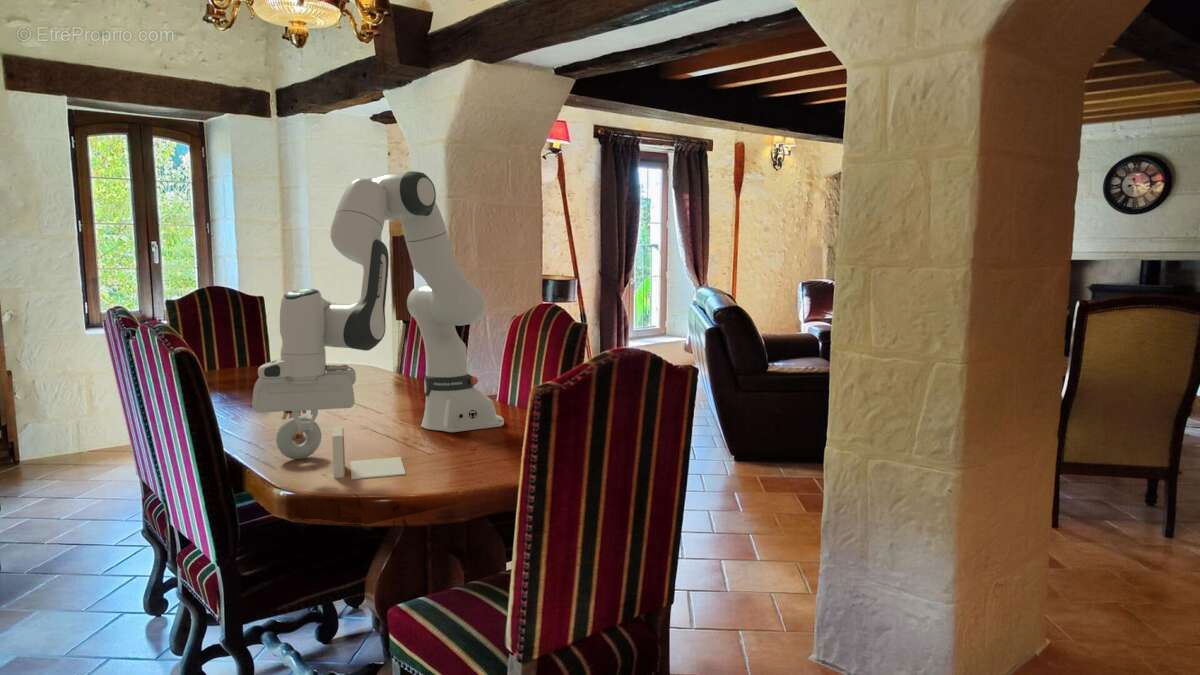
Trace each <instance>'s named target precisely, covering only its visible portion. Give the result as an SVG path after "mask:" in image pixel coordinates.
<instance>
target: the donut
mask: <svg viewBox="0 0 1200 675" xmlns="http://www.w3.org/2000/svg"><path fill="white" fill-rule="evenodd" d="M298 417H299V418H300V420H301V421H302V422H308V421H310V420H311V417H307V416H302V415H301V416H298ZM297 431H298V424H297V422H296V421H295V420H294V418H290V419H289V418H288V419H286V421H284V422H283V423H282V425H280V427H279V428H278V431H277V433H276V439H275V441H276V442H275V443H276V446H277V448H278V450H279V452H280V453H281V454H282V455H283V456H284V457H286V458H289V459H290V460H291V459H292V460H303V459H306V458H309V457H310V456H311V455H314V453H315V452H316V451H317V450H318V448H319V447H320V444H321V441H322V432H321V427H320V426H319V424H318V423H317V422H316V421H315V420H314V422H313V431H303V433H304V434H305V436H306V437H305V440H304V441H303V442H302V443H301V444H300V443H299V444H296V443H294V442H293V439H292V436H293V434H294V433H295V432H297Z"/></svg>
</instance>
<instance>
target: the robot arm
mask: <svg viewBox="0 0 1200 675" xmlns="http://www.w3.org/2000/svg"><path fill="white" fill-rule="evenodd" d="M436 193H437V192H436V188H435V184H434V183H433V181H432V180H431V178H430V177H429V176H428V175H427V174H426V173H424V172H421V171H415V170H414V171H407V172H394V173H387V174H385V175H380V176H378V177H375V178H356V179H355V180H352V181H351V182H350V183H349V185H348V186H347V187H346V189H345V191H344V193H343V195H342V196H341V198H340V201H339V204H338V206H337V208H336V211H335V213H334V217H333V220H332V222H331V223H332V224H331V228H330V239H331V242H332V245H333V246H334V248H335V249H336V250H337V252H339V253H340V254H341V255H342V256H344V257H345V258H346V259H348V260H349V261H352V262H355V263H357V264H358V265H361V266H362V267H363V274H362V282H361V283H362V285H361V293H360V299H359V300H358V301H357V302H356V303H355V302H354V303H352V304H351V303H350V304H348V303H334V302H331V301H329V300H326V299H324V298H323V297H322V294H321V292H320V291H319V290H318V289H316V288H301V289H294V290H290V291H287V292H286V293H285V294H283V296H282V298H281V302H280V308H279V334H280V337H281V342H282V343H281V348H280V358H279V359H274V360H272V361H269V362H266V363H263V364H262V365H260V366H259V367H258V368H257V375H258V377H259V378H258V379H257V380H256V381H255V383H254V386H253V392H252V400H251V401H252V404H251V409H252V410H253V411H254V412H255V413H260V414H261V413H262V414H263V413H277V412H284V411H292V417H293V418H294V420H295V421H296V422H297V424H298V431H313V422H314V421H315V420H316V419H317V417H318V415H319V410H334V409H351V408H352V407H354V405H355V403H356V402H355V401H356V400H355V391H354V384H355V383H356V381H357V379H356V378H357V376H356V375H357V374H356V371H355V369H354V368H353V367H351V366H349V365H348V364H342V365H335V364H334V365H332V364H329V365H327V362H326V361H327V360H326V359H327V358H326V347H329V348H330V347H332V348H340V349H341V348H343V349H345V348H346V349H353V350H360V351H370V350H373V349H374V348H375V347H376V346H377V345H378V344H379V343H380V342H381V341H382V340H383V338H384V337H385V333H386V326H387V325H386V313H385V311H386V300H387V299H386V297H387V288H388V287H387V286H388V278H389V264H390V263H389V262H390V261H389V260H390V259H389V258H390V257H389V250H388V248H387V245H386V244H385V243H384V242H382V232H383V229H384V225H385V222H386V221H391V220H393V221H394V220H400V222H401V228H402V234H403V237H404V241H405V243H406V248H407V251H408V255H409V258H410V262H411V265H412V268H413V270H414V271H415V272H416V273H417V274H418V275H419V276H421V277H422V279H423V280H424V281H425V283H426V284H422V285H419V286H416V287H414V288H413V289H412V290H410V292H409V294H408V296H407V300H406V307H407V310H408V312H409V314H410V316H411V317H412V318H413V319H414V320H415V322H416V324H417V327H418V328H419V332H420V333H421V337H422V341H423V345H424V353H425V375H424V381H423V382H424V383H423V384H424V395H425V404H424V405H425V406H424V413H423V419H422V421H421V422H422V423H421V424H420V426H421V428H424V429H426V430H431V431H440V432H441V431H443V432H446V433H456V432H457V433H458V432H465V431H474V430H481V429H489V428H490V429H491V428H497V427H502V426H504V425H505V420H504V418H503V417H502V416H501V415H499V414H497V412H496V407H495V404H494V401H493V400H492V399H491V398H490V397H488V395H486V394H484V392H483V391H481V390H480V389H478V388H476V387H475V385H477V384H478V383H479V378H478V377H476V376H473V375H472V374H469V373H468V357H467V356H468V352H467V351H468V350H467V345H466V343H465V342H464V341H463V340H462V339H461V337H460V336H459V334H458V331H457V329H456V326H459V327H461V326H466V325H471V324H475V323H477V322H479V320H481V318H482V316H484V315H483V314H484V312H485V306H486V305H485V299H484V296H483V295H482V293H481V292H480V291H479V290H478V289H477V288H475V287H474V286H473V285H472V284H471V283H470V281H469V280H468V279H467V277H466V276H465V274H464V273H463V271H462V270H461V268H460V266H459V264H458V262H457V261H456V258H455V255H454V251H453V248H452V245H451V242H450V238H449V234H448V231H447V227H446V224H445V221H444V218H443V215H442V213H441V211H440V208H439V206H438V204H437V202H436V200H437V194H436ZM301 410H306V411H310V415H311V417H310V419H311V420H310V421H308V422H302V421H301V420H300V418H299V417H298V416H299V414H300V411H301ZM301 412H302V411H301Z"/></svg>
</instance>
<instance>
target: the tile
mask: <svg viewBox="0 0 1200 675" xmlns="http://www.w3.org/2000/svg"><path fill="white" fill-rule="evenodd" d="M344 430H345V428H343V426H334V427H333V426H332V434H331V435H332V436H331V438H332V464H333V466H332V467H333V479H339V478H344V477H345V476H346V458H345V457H346V456H345V454H346V453H345V452H346V451H345V431H344Z"/></svg>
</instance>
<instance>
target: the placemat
mask: <svg viewBox="0 0 1200 675" xmlns="http://www.w3.org/2000/svg"><path fill="white" fill-rule="evenodd" d="M405 475H406V471H405V467H404V464H403V460H402V457H401V456H397V457H384V458H369V459H361V460H352V461H350V477H351V478H350V479H351V480H361V479H363V480H364V479H372V478H383V477H396V476H405Z"/></svg>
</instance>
